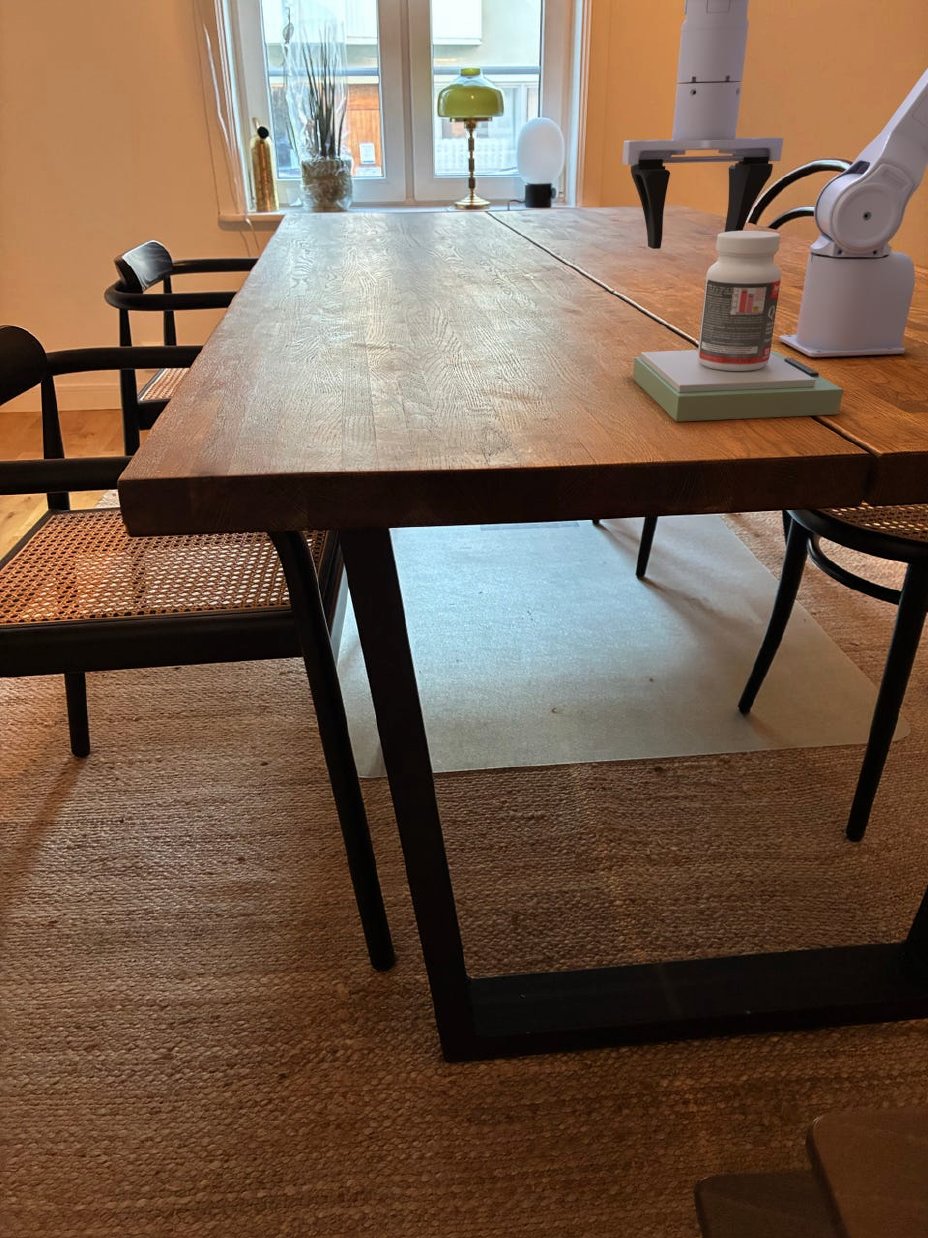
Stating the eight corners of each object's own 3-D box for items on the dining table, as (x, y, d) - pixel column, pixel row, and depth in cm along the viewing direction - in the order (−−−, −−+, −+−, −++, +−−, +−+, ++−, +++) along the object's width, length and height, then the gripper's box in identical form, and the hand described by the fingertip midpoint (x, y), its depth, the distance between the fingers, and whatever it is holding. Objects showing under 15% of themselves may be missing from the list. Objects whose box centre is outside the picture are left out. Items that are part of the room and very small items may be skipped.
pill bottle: (777, 372, 71) (798, 237, 66) (707, 373, 71) (722, 238, 66) (755, 355, 76) (773, 228, 71) (689, 356, 76) (702, 230, 71)
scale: (773, 373, 81) (777, 344, 80) (838, 414, 69) (845, 381, 68) (632, 379, 80) (634, 349, 79) (676, 421, 69) (679, 388, 67)
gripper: (641, 83, 76) (630, 253, 83) (806, 80, 77) (781, 249, 84) (621, 85, 82) (612, 244, 89) (773, 83, 83) (753, 240, 90)
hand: (692, 246), depth 87 cm, fingers open, 7 cm apart
